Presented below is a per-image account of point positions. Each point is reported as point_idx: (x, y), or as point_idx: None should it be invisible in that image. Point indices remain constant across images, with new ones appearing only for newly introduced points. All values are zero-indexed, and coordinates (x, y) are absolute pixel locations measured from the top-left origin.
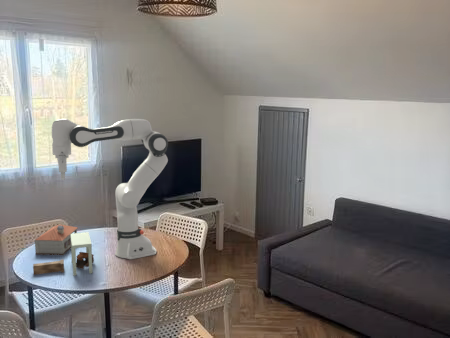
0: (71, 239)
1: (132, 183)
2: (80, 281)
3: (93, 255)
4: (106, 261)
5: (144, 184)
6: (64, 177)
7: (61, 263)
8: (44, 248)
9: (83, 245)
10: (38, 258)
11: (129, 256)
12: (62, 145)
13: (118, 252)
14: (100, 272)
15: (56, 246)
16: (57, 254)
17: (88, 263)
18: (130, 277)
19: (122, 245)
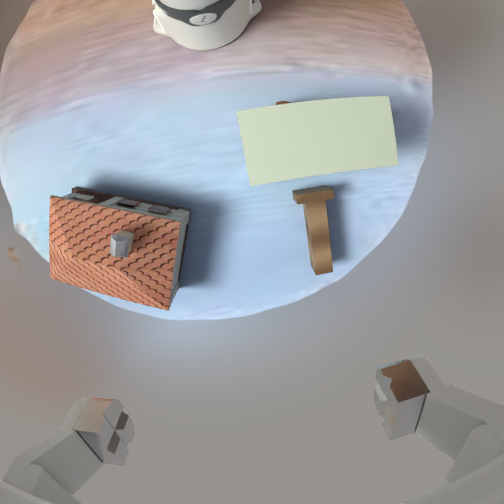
0: (329, 172)
1: None
2: None
3: (284, 101)
4: (263, 70)
5: None
6: (434, 377)
7: (330, 196)
8: (176, 271)
9: (392, 124)
10: (207, 275)
11: (252, 8)
12: None
13: (228, 34)
14: (346, 87)
15: (180, 237)
16: (187, 227)
17: None
18: (385, 23)
19: (235, 13)
